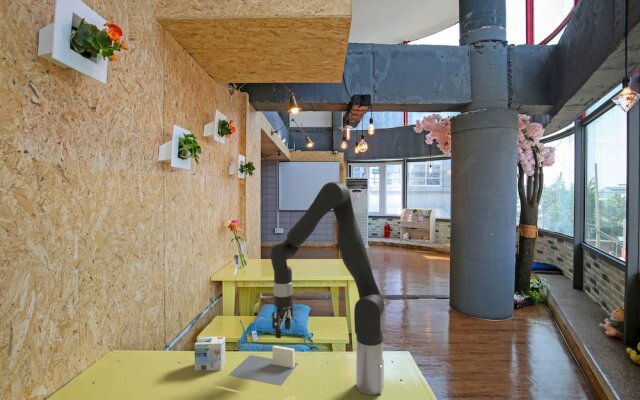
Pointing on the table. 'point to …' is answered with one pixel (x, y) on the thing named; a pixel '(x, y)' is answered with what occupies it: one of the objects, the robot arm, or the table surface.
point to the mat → (262, 370)
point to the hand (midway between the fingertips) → (283, 333)
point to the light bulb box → (209, 353)
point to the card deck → (284, 356)
